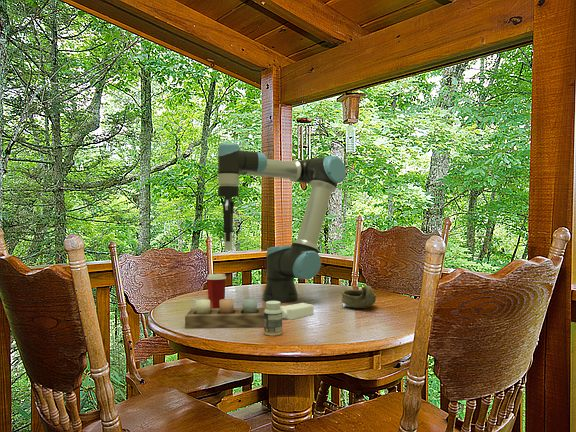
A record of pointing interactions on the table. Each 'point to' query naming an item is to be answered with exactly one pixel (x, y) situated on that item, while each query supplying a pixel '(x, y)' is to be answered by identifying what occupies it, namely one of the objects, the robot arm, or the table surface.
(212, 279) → the paper cup
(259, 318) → the console
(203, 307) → the button cream
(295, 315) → the cream rectangular block
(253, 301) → the button slate
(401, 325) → the table surface
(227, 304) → the button terracotta
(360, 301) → the bowl
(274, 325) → the pill bottle
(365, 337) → the table surface
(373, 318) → the table surface
